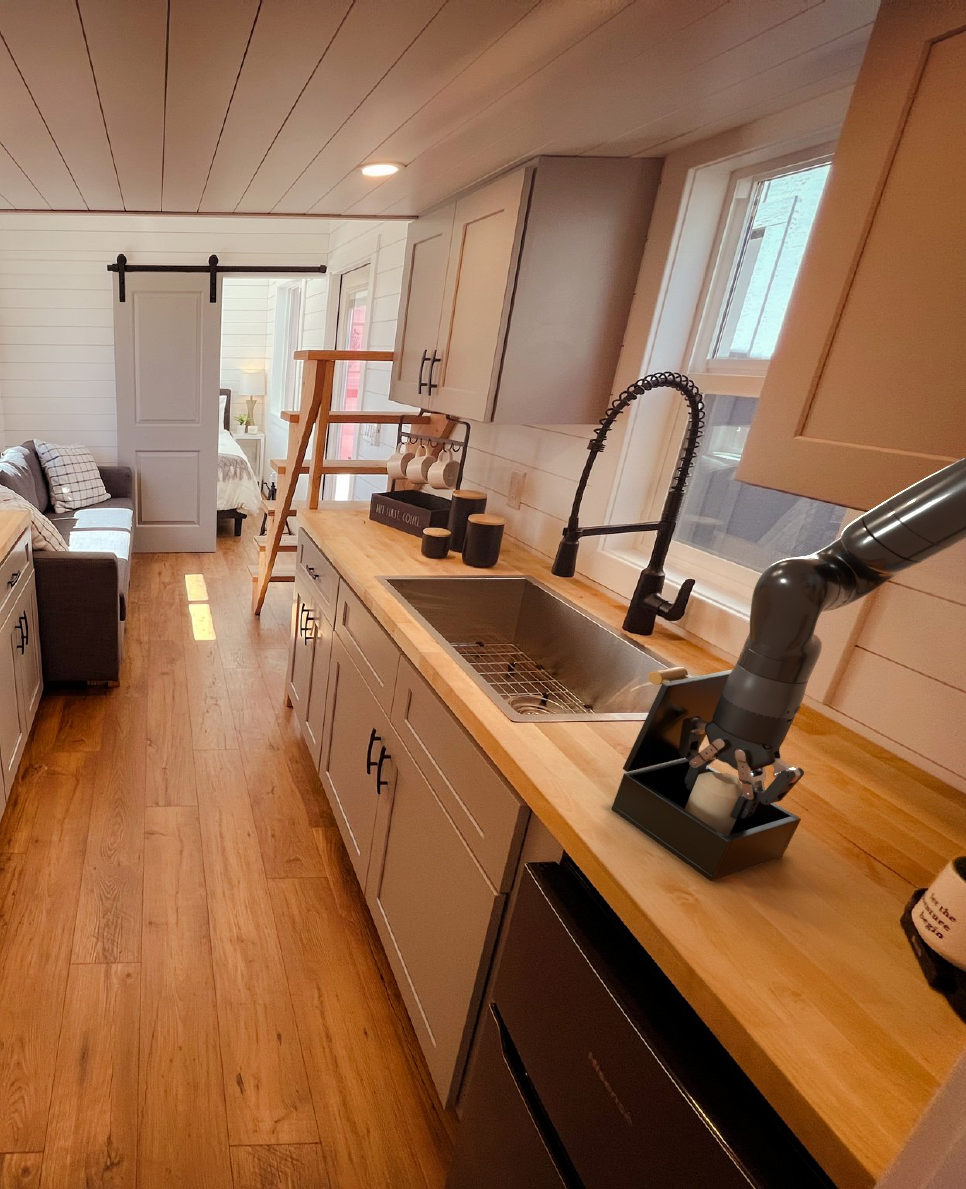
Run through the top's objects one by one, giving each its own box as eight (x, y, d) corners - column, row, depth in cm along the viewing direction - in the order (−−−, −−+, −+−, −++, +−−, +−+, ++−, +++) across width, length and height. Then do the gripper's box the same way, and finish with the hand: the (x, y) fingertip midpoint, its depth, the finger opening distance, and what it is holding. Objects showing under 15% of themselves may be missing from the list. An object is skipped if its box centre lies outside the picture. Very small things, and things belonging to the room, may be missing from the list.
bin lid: (739, 672, 93) (701, 653, 97) (667, 686, 88) (632, 665, 93) (695, 755, 100) (662, 734, 104) (627, 772, 95) (595, 749, 100)
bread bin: (782, 857, 90) (801, 818, 87) (710, 881, 86) (728, 841, 83) (678, 791, 103) (692, 756, 100) (610, 809, 98) (623, 773, 96)
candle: (703, 819, 96) (727, 763, 92) (736, 846, 91) (762, 789, 87) (669, 820, 95) (691, 764, 92) (699, 847, 90) (724, 789, 86)
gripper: (683, 678, 90) (647, 776, 96) (805, 735, 77) (753, 844, 83) (720, 671, 92) (682, 767, 98) (844, 725, 79) (790, 832, 86)
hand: (715, 802), depth 91 cm, fingers closed on candle, 5 cm apart
